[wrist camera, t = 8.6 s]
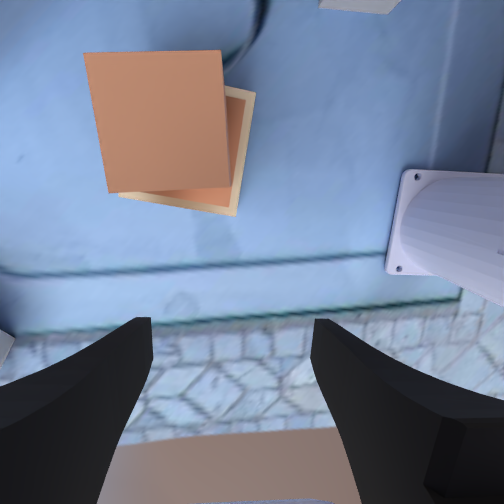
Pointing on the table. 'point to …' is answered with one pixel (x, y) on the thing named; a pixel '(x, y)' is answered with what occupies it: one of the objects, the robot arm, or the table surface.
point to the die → (5, 346)
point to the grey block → (360, 5)
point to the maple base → (238, 135)
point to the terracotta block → (160, 119)
